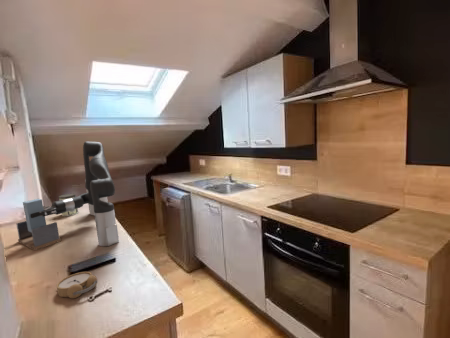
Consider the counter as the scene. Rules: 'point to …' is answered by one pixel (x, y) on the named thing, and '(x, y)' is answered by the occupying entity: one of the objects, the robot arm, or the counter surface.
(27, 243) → the book stand
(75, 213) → the coffee can
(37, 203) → the book
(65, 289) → the alarm clock
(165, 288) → the counter surface
